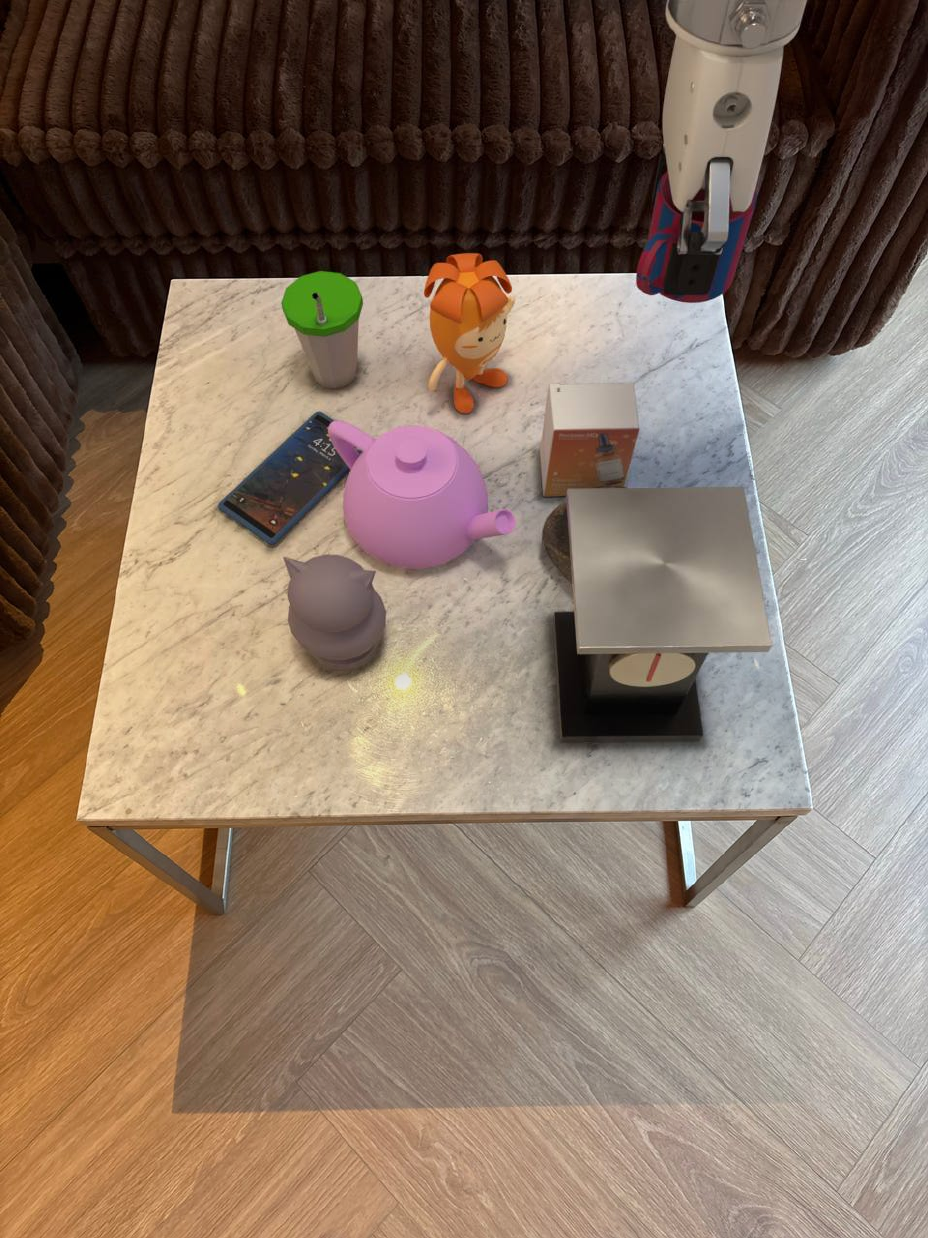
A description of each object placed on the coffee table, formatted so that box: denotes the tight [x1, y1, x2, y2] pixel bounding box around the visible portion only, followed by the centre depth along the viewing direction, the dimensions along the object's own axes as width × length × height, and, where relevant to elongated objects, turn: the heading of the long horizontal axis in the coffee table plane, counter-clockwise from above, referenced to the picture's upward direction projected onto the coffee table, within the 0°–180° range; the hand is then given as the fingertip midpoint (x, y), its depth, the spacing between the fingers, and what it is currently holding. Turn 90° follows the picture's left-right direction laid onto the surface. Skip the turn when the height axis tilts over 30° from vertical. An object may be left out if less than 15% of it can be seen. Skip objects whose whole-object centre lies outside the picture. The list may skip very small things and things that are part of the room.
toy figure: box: [423, 252, 517, 415], centre depth 93 cm, size 12×8×15 cm, turn 134°
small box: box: [539, 381, 641, 498], centre depth 90 cm, size 8×6×10 cm
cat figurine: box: [282, 554, 387, 672], centre depth 81 cm, size 8×8×12 cm
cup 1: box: [280, 270, 364, 391], centre depth 94 cm, size 8×8×15 cm
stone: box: [541, 485, 628, 585], centre depth 88 cm, size 11×11×5 cm
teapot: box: [328, 419, 517, 570], centre depth 87 cm, size 14×20×11 cm
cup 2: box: [635, 171, 758, 304], centre depth 67 cm, size 7×10×7 cm
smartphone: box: [217, 411, 363, 547], centre depth 94 cm, size 8×1×15 cm
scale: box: [552, 486, 773, 744], centre depth 75 cm, size 13×13×20 cm
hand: (679, 246), depth 67 cm, fingers closed on cup 2, 8 cm apart
